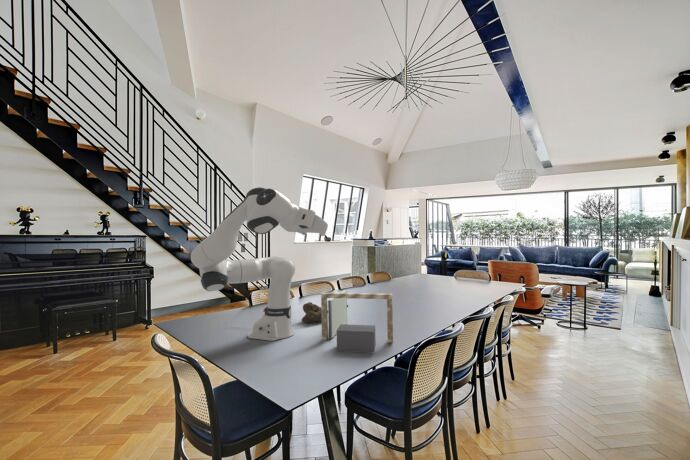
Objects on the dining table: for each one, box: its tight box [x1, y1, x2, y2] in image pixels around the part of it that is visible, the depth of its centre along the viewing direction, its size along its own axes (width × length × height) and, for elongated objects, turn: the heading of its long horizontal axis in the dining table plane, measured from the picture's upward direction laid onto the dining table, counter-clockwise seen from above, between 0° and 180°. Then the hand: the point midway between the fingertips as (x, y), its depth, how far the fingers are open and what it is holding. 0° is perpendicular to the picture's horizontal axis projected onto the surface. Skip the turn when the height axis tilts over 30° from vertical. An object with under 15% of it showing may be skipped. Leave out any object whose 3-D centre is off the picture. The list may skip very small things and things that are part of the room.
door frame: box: [320, 292, 394, 344], centre depth 144 cm, size 33×2×22 cm, turn 80°
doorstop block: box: [336, 323, 377, 353], centre depth 135 cm, size 16×9×9 cm, turn 80°
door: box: [327, 289, 349, 340], centre depth 159 cm, size 27×3×18 cm, turn 163°
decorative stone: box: [301, 301, 328, 324], centre depth 179 cm, size 16×11×15 cm
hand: (314, 233), depth 125 cm, fingers open, 8 cm apart
